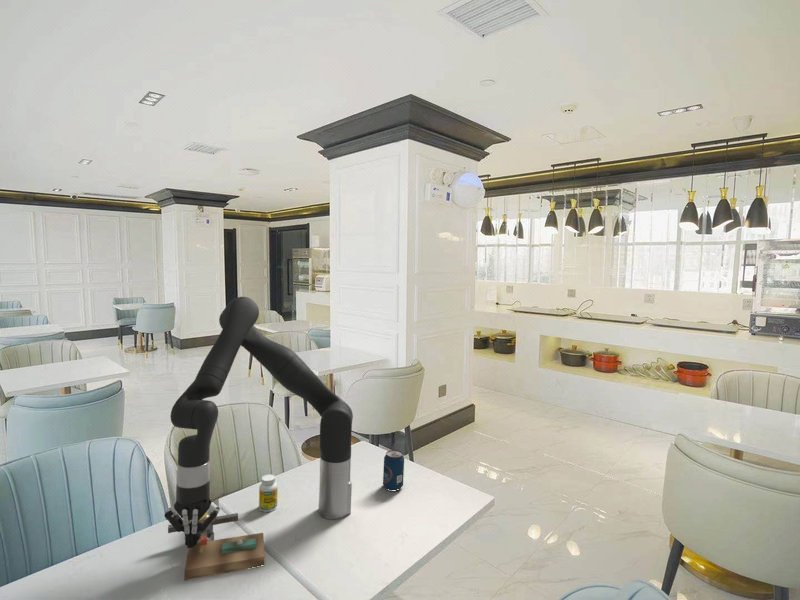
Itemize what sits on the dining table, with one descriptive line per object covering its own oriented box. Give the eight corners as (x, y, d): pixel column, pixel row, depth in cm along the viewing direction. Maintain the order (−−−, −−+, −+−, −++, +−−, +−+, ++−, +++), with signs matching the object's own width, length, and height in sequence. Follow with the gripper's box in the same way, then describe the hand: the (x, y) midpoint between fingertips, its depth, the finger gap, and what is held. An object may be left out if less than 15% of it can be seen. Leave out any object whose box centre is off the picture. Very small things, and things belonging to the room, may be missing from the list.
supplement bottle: (274, 501, 138) (274, 471, 137) (279, 509, 133) (280, 479, 133) (256, 505, 135) (257, 475, 134) (261, 514, 130) (262, 483, 130)
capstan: (171, 527, 122) (171, 503, 121) (236, 516, 128) (236, 493, 128) (164, 568, 106) (165, 540, 105) (239, 552, 113) (240, 526, 112)
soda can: (378, 485, 150) (380, 451, 149) (395, 480, 154) (396, 447, 154) (390, 494, 145) (392, 459, 144) (407, 489, 149) (408, 454, 148)
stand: (263, 541, 118) (263, 524, 118) (264, 566, 109) (264, 548, 108) (189, 553, 112) (189, 535, 112) (184, 580, 103) (184, 561, 102)
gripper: (158, 487, 103) (157, 556, 105) (217, 486, 105) (215, 555, 107) (170, 472, 111) (169, 537, 112) (225, 471, 113) (223, 536, 114)
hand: (191, 545), depth 109 cm, fingers closed
